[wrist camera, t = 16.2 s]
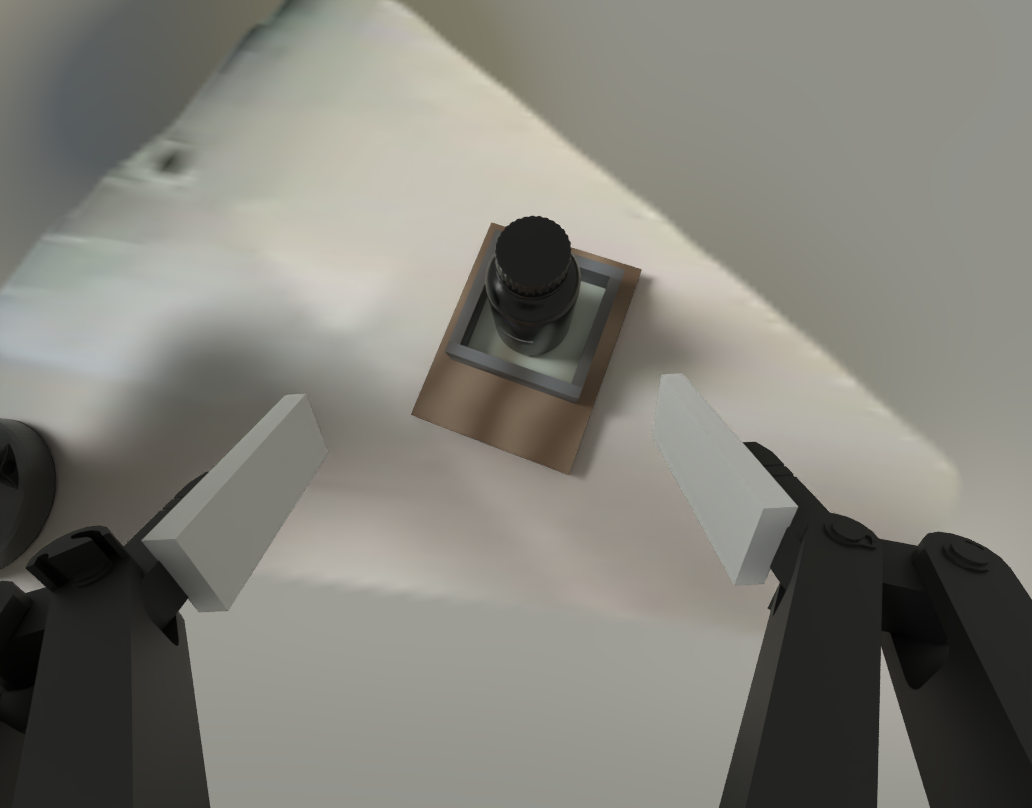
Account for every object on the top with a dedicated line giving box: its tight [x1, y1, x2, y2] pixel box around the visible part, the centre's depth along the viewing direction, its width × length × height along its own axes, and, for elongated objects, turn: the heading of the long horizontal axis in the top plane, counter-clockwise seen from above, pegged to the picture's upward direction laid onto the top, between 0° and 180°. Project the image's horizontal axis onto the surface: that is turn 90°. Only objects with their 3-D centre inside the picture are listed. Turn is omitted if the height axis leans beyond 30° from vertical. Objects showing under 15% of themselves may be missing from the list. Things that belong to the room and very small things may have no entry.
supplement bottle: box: [485, 216, 581, 356], centre depth 30 cm, size 7×7×12 cm
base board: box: [411, 223, 642, 475], centre depth 35 cm, size 15×20×4 cm
